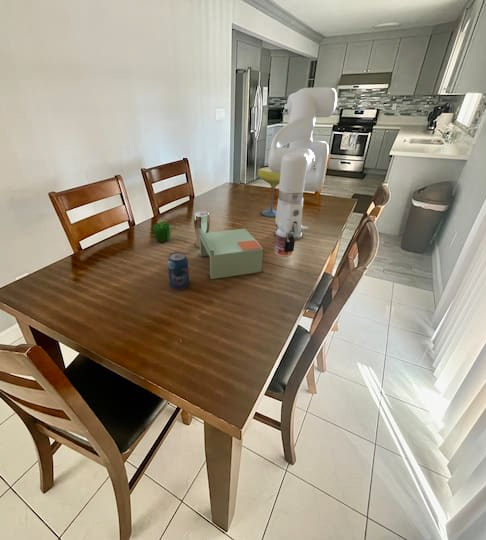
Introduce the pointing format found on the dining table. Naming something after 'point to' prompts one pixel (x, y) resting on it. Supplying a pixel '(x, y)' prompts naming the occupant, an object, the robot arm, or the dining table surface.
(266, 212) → the cocktail glass
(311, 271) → the dining table surface
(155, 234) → the bell pepper
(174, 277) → the soda can
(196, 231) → the beer glass
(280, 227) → the pill bottle
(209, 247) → the shelf
